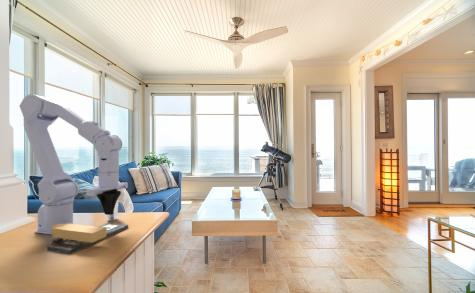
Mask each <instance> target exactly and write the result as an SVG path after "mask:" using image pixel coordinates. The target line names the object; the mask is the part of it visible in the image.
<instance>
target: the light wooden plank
mask: <svg viewBox="0 0 475 293" xmlns="http://www.w3.org/2000/svg"><path fill="white" fill-rule="evenodd" d="M50 235H51V236H52V238H53V237H56V238H63V240H65V239H70V240H77V241H84V242H91V243H93V242H95V241H97V240H100V239H102V238H104V237H106V228H104V227H99V226H93V225H84V224H76V223H73V224H69V223H68V224H56V225H53V226H51V234H50ZM102 240H103V239H102ZM100 241H101V240H100ZM93 244H94V243H93Z"/></svg>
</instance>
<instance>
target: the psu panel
mask: <svg viewBox="0 0 475 293" xmlns="http://www.w3.org/2000/svg"><path fill="white" fill-rule="evenodd" d="M98 227H104V228H106V237H104V238H102V239H100V240H97V241H95V242H93V243H91V242H84V241H77V240H70V239H63V241H60V242H57V243H53V244H50V245H47V246H46V247H47V248H46V250H47V251H50V252H56V253H63V254H68V255H71V254H73V253H75V252H78V251H81V250H82V249H84V248H87V247H89V246H91V245H93V244H95V243H97V242H100V241H102V240H104V239H107V238H109V237H112V236H114V235H115V234H118V233H120V232H123V231H124V230H126V229H128V228H129V224H124V223H113V222H108V223H105V224H103V225H100V226H98Z"/></svg>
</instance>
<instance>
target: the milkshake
mask: <svg viewBox="0 0 475 293" xmlns="http://www.w3.org/2000/svg"><path fill="white" fill-rule="evenodd" d="M119 202H120V196H119V197H118V199H117V202H116V204H115V208H114V211H113V214H111V215H106V218H107V221H108V222H111V221H112V222H113V221H116V220H117V219H118V218H119V216H118V214H119Z"/></svg>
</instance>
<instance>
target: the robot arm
mask: <svg viewBox="0 0 475 293" xmlns="http://www.w3.org/2000/svg"><path fill="white" fill-rule="evenodd" d="M18 107H19V109H20V111H21V114H22V117H23V127H24V128H23V129H24V131H25V134H26V136H27V139H28V141H29V144H30V146H31V149H32V152H33V154H34V157H35V160H36V162H37V166H38V167H39V170H40V172H41V175H42V178H41V180H39V181H38V183H37V188H38V198H39V201H40V202H41V203H42V204H41V205H40V207H39V208H38V210H37V229H36V230H34V233H37V234H45V235H51V226H53V225H56V224H68V223H69V224H74V201H75V197H77V196H78V194H79V186H78V183H77V182H76V181H74V179H73V178H72V176H71V175H70V174H68V173H67V172H65V171H64V170H63V169H64V168H63V166H62V164H61V162H60V158H59V156H58V154H57V151H56V149H55V148H56V147H55V146H54V142H53V140H52V137H51V135H50V133H49V130H48V128H49V126H51V125H53V123H55V122H56V121H57V120H58V119H59V118H60V119H62V120H63V121H65V122H66V123H68V124H69V125H71V126H73V127H74V128H76V129H77V133H78V135H79V136H81V137H82V138H83V139H85V140H86V141H87V142H89V143H90V144H93V146H94V148H95V151H97V157H98V186H93V187H90V188H87V189H86V196H87V197H89V196H90V197H93V196H96V197H97V198H98V200H99V202H100V204H101V206H102V209H103V212H104V215H106V216H107V215H111V214H113V211H114V208H115V204H116V202H117V199H118V197H119V198H120V196H121V194H122V191H121V190H122V189H128V187H129V183H128V182H124V181H123V182H120V180H119V179H120V174H119V173H120V164H119V163H120V161H119V160H120V158H119V157H120V150H121V149H122V147H123V141H122V139H121V138H120V137H119V136H118V135H116V134H115V135H114V134H111V131H109V130H105V129H104V128H103V127H101V126H100V125H99V124H100V123H99V122H98V121H94V120H85V119H83V118H82V117H81V116H80V115H78V114H77V113H76V112H74V111H73V110H72V109H70V108H69V107H68V106H67V104H65V103H63V102H61V101H60V100H58V99H52V98H48V97H44V96H40V95H37V94H34V93H30V94H27V95H26V96H24V98H22V101H21V102H20V104H19V106H18Z"/></svg>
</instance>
